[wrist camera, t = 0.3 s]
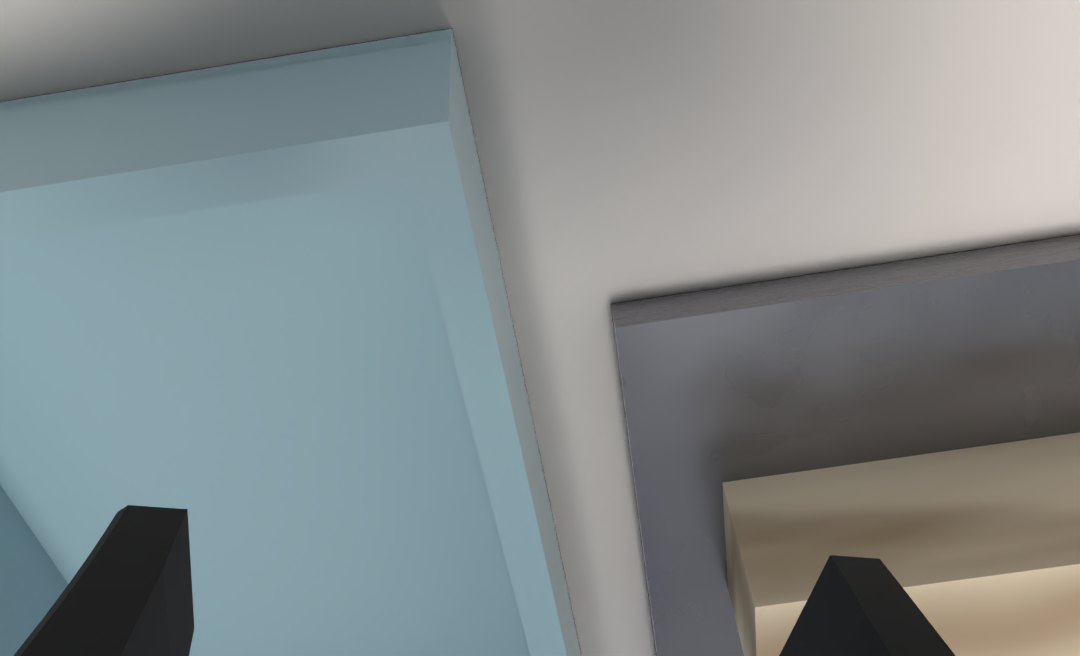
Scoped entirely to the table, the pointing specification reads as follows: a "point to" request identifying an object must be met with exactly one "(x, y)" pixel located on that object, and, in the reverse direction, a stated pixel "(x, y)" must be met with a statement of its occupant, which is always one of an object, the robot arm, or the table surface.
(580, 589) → the table surface
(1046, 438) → the strut
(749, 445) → the stud plate
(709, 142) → the table surface
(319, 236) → the bin
